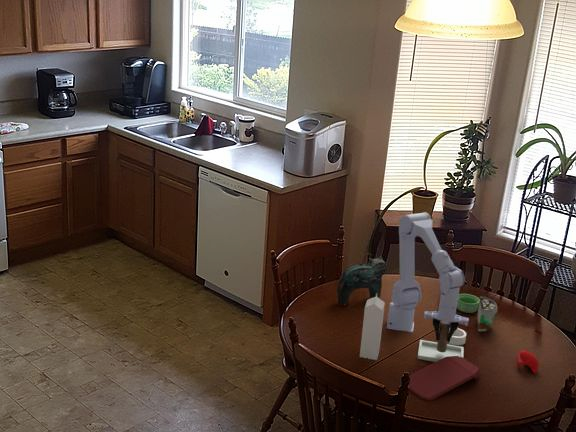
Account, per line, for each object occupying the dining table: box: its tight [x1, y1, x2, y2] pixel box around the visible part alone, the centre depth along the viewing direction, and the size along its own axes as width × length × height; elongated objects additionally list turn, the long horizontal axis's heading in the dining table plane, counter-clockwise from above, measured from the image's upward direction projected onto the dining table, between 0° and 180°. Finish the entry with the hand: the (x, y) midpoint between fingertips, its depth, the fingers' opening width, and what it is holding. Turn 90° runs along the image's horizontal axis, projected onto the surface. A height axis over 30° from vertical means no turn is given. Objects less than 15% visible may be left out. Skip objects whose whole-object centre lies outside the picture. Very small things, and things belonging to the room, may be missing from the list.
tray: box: [417, 339, 465, 363], centre depth 241 cm, size 15×11×2 cm
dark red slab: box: [409, 356, 480, 401], centre depth 226 cm, size 12×5×25 cm
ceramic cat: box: [336, 253, 387, 306], centre depth 274 cm, size 20×6×20 cm, turn 114°
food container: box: [476, 295, 498, 333], centre depth 261 cm, size 12×6×10 cm, turn 168°
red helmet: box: [515, 349, 539, 374], centre depth 236 cm, size 8×6×6 cm
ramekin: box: [456, 293, 480, 314], centre depth 276 cm, size 9×9×4 cm
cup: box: [447, 327, 467, 346], centre depth 251 cm, size 7×7×4 cm
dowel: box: [437, 321, 451, 352], centre depth 239 cm, size 3×3×10 cm
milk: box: [359, 294, 386, 361], centre depth 236 cm, size 6×6×22 cm
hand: (442, 339), depth 239 cm, fingers closed on dowel, 3 cm apart
